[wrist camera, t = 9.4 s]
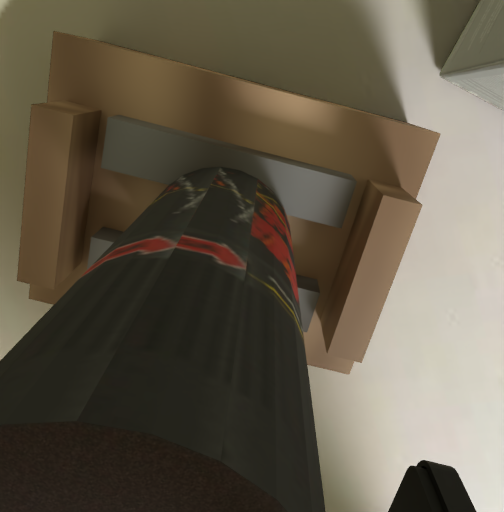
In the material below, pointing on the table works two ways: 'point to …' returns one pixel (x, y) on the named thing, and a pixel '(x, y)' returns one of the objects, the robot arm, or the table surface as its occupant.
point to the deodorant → (170, 369)
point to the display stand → (220, 155)
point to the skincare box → (480, 55)
